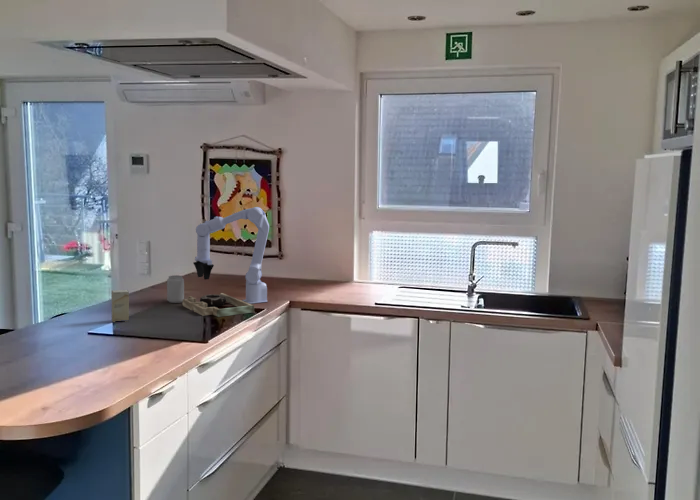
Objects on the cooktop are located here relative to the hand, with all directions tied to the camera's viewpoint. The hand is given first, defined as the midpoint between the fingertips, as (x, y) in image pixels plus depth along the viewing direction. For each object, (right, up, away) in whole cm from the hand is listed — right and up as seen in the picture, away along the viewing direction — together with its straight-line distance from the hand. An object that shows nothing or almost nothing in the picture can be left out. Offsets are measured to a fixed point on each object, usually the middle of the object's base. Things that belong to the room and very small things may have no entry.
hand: (203, 278), depth 293 cm
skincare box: (-24, -15, -42) cm, 50 cm away
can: (-12, -11, -4) cm, 17 cm away
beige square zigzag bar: (+9, -13, -14) cm, 21 cm away
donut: (+6, -12, -7) cm, 15 cm away
